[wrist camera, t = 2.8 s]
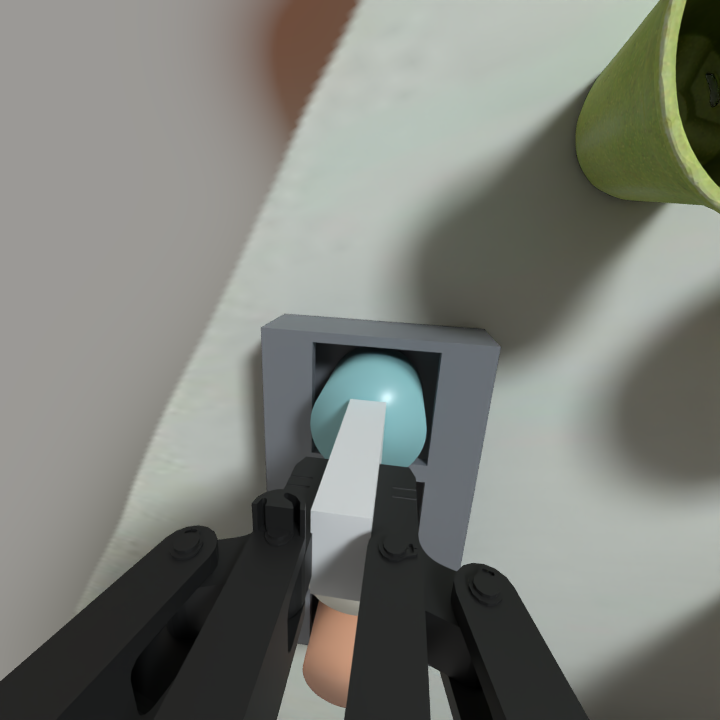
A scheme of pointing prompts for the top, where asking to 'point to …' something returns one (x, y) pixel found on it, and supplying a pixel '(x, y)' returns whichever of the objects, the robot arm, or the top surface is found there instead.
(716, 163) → the plant pot
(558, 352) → the top surface
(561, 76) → the top surface
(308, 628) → the egg display tray
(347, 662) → the terracotta egg
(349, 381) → the teal egg
